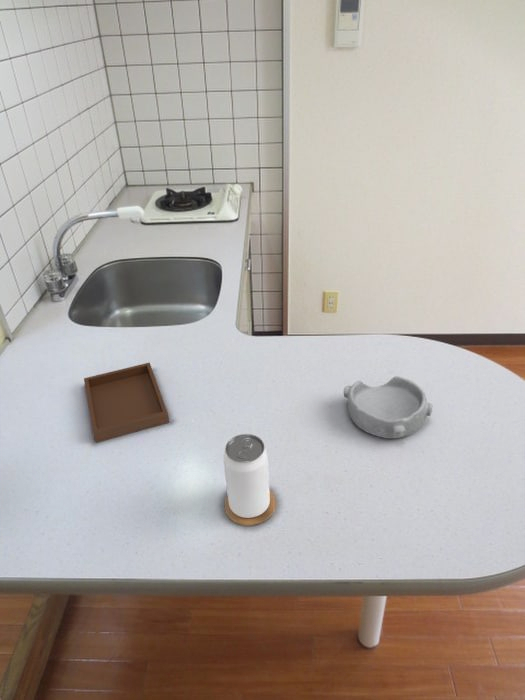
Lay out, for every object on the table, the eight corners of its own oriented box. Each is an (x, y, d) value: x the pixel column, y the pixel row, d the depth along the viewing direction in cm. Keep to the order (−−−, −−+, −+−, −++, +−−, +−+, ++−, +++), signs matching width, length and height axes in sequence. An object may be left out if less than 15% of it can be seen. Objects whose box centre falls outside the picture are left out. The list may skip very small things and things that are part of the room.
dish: (333, 407, 101) (334, 386, 98) (391, 384, 105) (394, 364, 103) (380, 455, 90) (383, 434, 87) (442, 427, 95) (447, 406, 92)
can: (274, 490, 84) (272, 435, 77) (263, 523, 79) (260, 468, 72) (236, 483, 85) (230, 428, 78) (223, 515, 80) (216, 459, 73)
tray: (169, 422, 99) (167, 412, 97) (95, 442, 95) (93, 433, 94) (151, 371, 112) (149, 362, 111) (86, 387, 109) (83, 378, 107)
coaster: (257, 534, 78) (256, 532, 77) (214, 511, 82) (214, 509, 81) (285, 498, 83) (285, 496, 83) (244, 477, 87) (244, 475, 87)
